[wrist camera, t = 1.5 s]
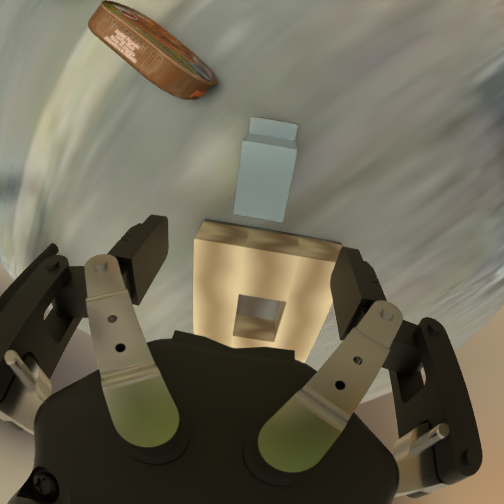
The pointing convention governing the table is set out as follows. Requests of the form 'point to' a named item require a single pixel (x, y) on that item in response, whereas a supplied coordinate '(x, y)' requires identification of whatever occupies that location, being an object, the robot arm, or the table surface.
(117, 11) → the tin
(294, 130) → the grey-blue stepped block
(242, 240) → the block
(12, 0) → the table surface
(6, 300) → the solar garden light
